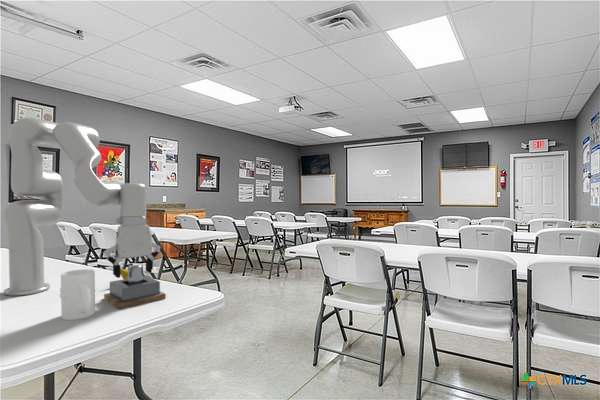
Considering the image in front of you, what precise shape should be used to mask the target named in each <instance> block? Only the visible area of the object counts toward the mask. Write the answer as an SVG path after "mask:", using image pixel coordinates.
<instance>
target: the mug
mask: <svg viewBox="0 0 600 400" xmlns="http://www.w3.org/2000/svg"><path fill="white" fill-rule="evenodd" d="M95 274H96V273H95V269H87V268H86V269H85V268H84V269H74V270H69V271H64V272H62V273H61V274H60V289H59V298H60V300H61V301H60V303H61V304H60V305H61V307H60V308H61V309H60V310H61V318H62V320H64V321H65V320H66V321H75V320H81V319H85V318H89V317H92V316H93V315H95V313H96V281H95V280H96V278H95V277H96V275H95Z"/></svg>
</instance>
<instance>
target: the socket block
mask: <svg viewBox="0 0 600 400" xmlns="http://www.w3.org/2000/svg"><path fill="white" fill-rule="evenodd" d="M160 283H161V282H160V281H159V280H157V279H154V278H152V277H150V276H147V275H143V283H139V284H133V285H128V279H123V278H122V279H118V280H112V281H111V280H110V281H109V293H110V294H111V295H112V296H114V297H115V298H117V299H118V300H120V301H122V302H124V301H129V300H134V299H138V298H143V297H148V296H152V295H157V294H160V291H161V290H160V289H161V284H160Z"/></svg>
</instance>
